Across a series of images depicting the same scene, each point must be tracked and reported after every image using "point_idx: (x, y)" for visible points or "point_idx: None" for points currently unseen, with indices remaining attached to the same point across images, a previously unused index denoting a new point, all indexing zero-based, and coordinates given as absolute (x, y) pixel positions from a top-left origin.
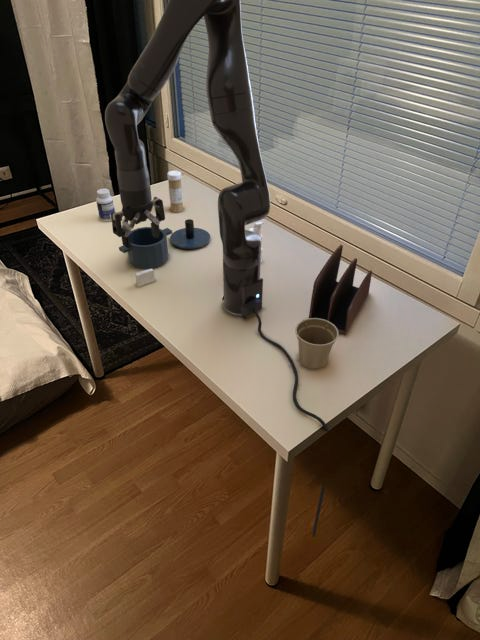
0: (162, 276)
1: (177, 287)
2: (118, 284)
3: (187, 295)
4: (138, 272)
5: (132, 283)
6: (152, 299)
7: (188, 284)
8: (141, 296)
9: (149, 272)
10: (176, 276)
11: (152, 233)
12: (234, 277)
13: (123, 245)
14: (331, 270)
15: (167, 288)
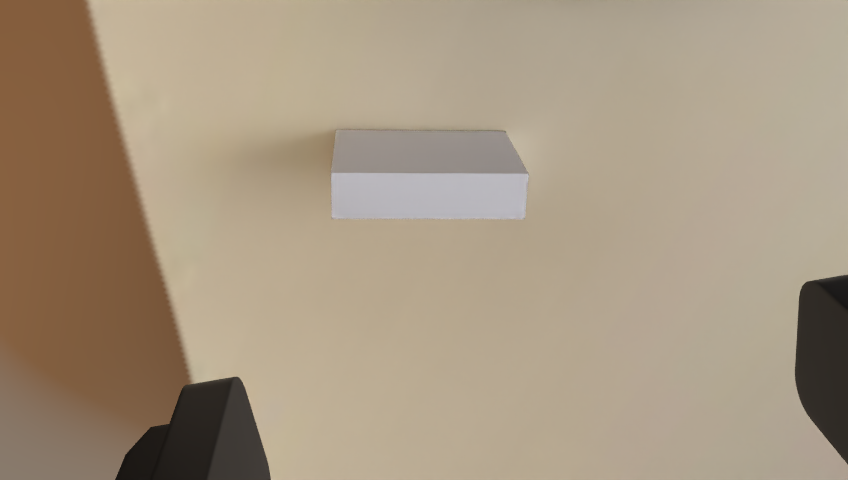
0: (604, 132)
1: (613, 341)
2: (171, 31)
3: (614, 457)
4: (370, 177)
5: (305, 90)
6: (366, 385)
7: (707, 347)
8: (303, 312)
9: (477, 214)
10: (704, 198)
11: (828, 319)
12: None
13: (148, 430)
14: None
15: (540, 316)
